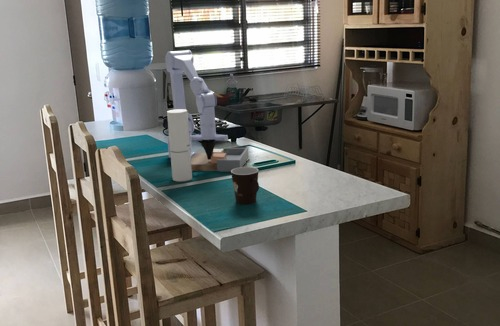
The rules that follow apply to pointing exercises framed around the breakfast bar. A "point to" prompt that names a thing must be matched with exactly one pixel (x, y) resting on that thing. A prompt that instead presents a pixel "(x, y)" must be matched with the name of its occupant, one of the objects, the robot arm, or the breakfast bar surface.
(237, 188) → the coffee mug
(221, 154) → the terracotta tile
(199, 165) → the walnut board
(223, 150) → the cream tile
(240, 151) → the box
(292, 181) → the breakfast bar surface
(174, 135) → the cylindrical container
